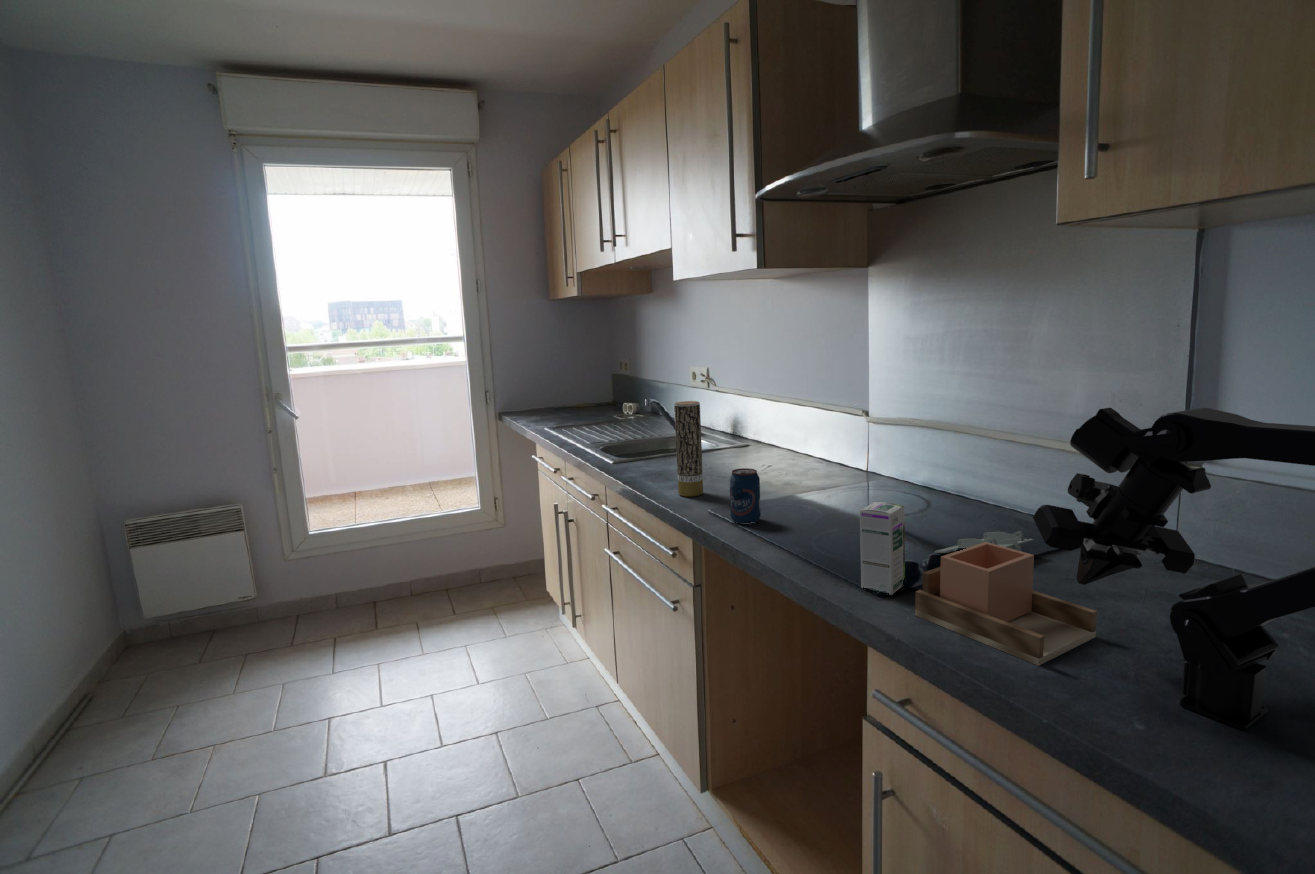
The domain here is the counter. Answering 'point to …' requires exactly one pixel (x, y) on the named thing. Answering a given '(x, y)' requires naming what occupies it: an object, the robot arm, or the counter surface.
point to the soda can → (745, 495)
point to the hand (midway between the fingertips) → (1080, 581)
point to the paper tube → (688, 448)
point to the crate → (989, 580)
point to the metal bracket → (991, 541)
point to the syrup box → (882, 546)
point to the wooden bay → (1012, 623)
